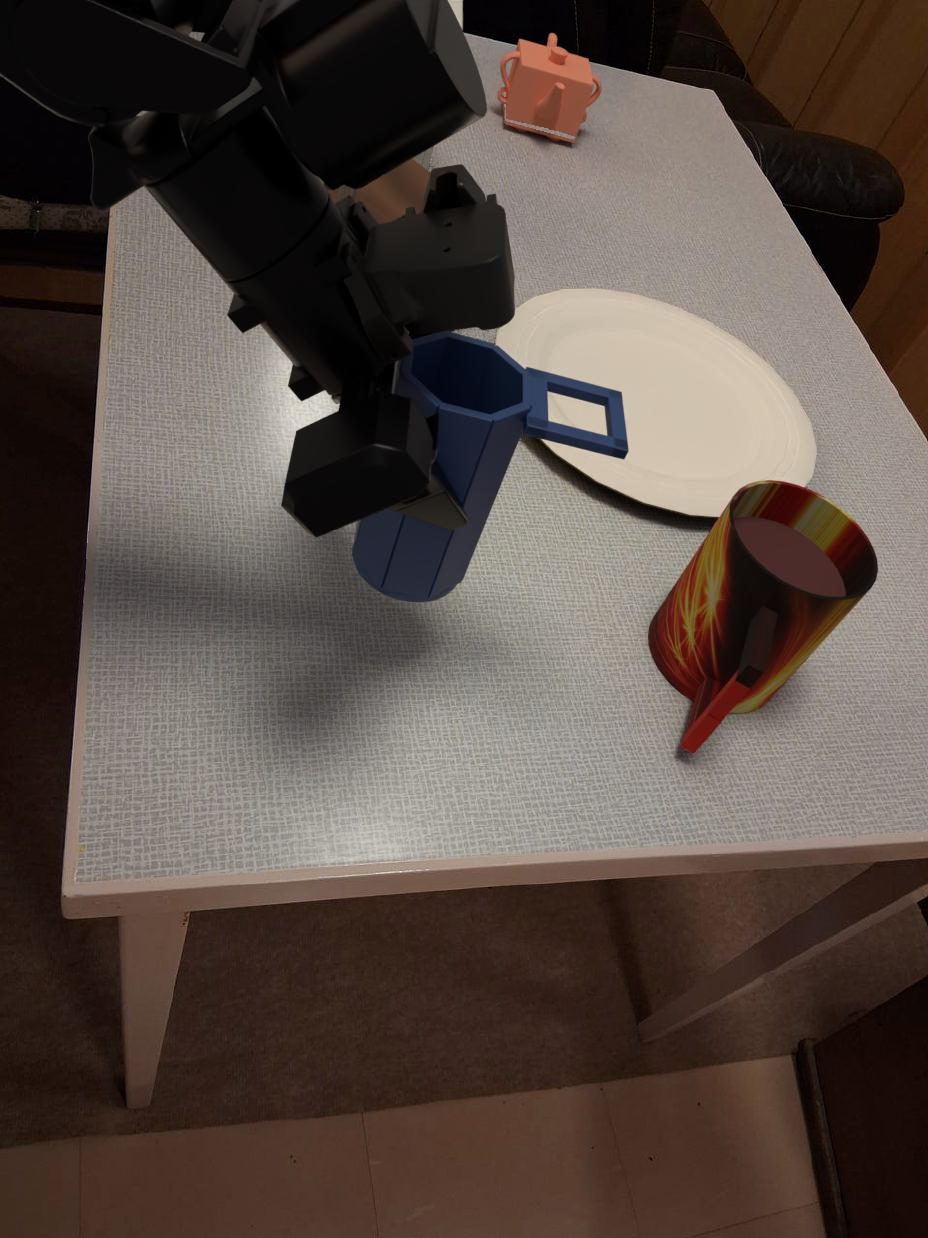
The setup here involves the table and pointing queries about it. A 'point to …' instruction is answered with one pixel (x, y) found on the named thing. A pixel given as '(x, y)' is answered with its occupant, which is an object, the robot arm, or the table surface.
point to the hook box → (390, 192)
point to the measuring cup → (470, 455)
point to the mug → (758, 600)
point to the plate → (664, 398)
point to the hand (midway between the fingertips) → (461, 480)
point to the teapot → (547, 88)
